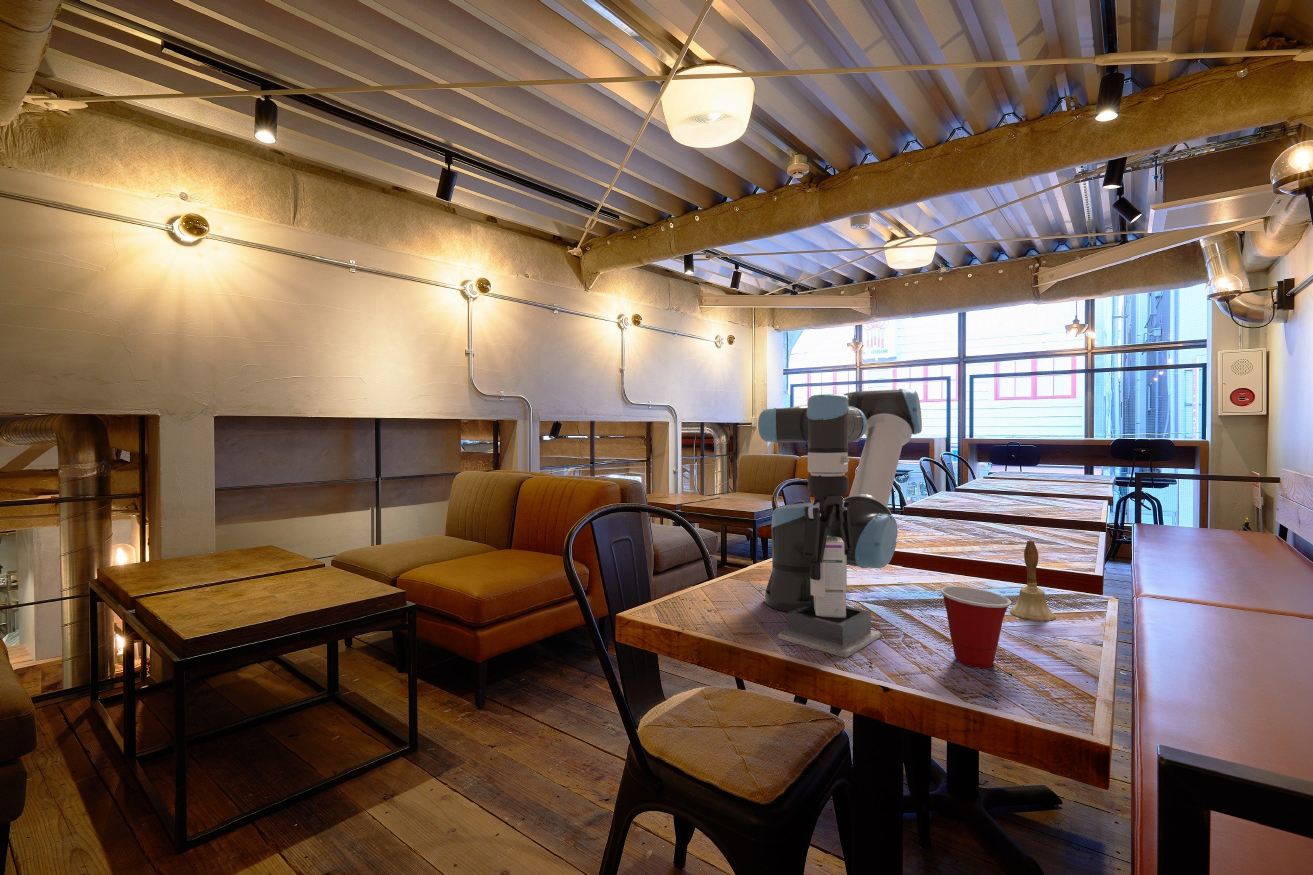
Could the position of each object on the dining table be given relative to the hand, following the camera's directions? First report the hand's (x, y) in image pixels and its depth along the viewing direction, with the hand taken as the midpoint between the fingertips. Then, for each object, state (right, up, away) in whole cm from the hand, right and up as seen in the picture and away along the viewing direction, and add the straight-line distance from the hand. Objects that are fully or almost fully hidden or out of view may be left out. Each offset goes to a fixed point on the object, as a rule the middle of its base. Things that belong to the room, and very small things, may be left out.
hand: (829, 591), depth 112 cm
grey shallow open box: (0, -9, 0) cm, 9 cm away
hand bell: (+48, -9, +12) cm, 50 cm away
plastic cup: (+22, -9, -12) cm, 27 cm away
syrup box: (0, -4, 0) cm, 4 cm away
